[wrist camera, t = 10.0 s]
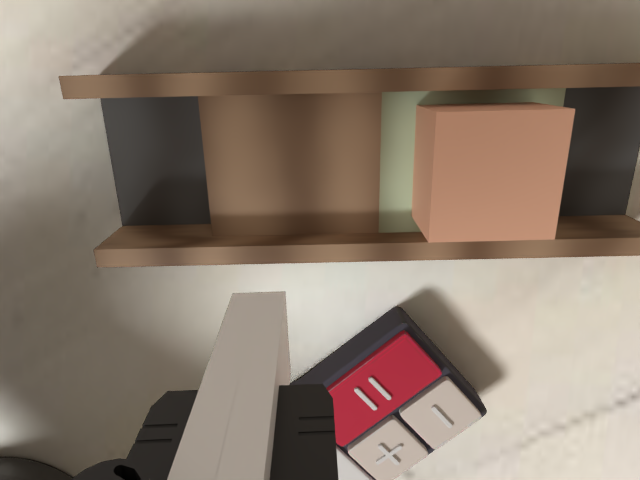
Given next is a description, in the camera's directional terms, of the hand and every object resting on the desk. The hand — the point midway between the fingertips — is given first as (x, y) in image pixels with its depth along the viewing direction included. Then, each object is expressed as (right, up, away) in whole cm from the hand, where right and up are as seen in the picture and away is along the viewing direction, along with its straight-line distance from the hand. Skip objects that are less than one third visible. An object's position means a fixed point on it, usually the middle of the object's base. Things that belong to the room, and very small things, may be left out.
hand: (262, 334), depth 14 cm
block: (+11, +8, +16) cm, 21 cm away
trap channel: (+5, +9, +19) cm, 21 cm away
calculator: (+6, -10, +26) cm, 29 cm away
